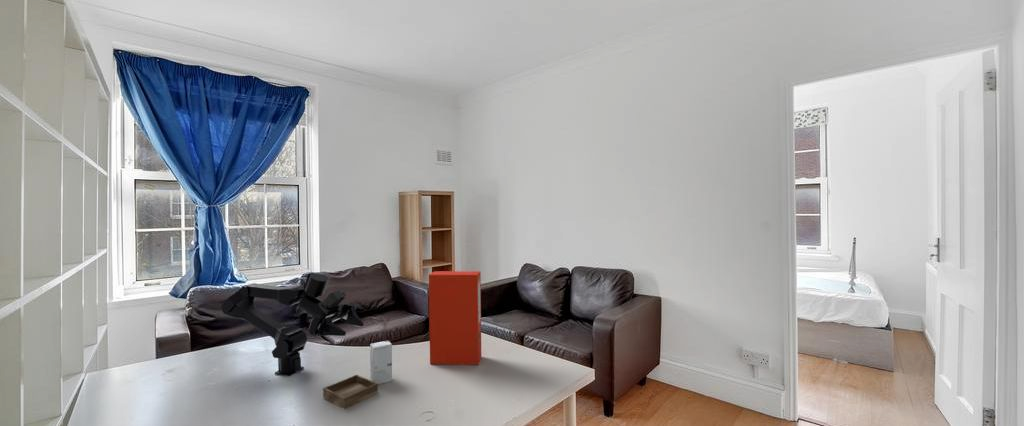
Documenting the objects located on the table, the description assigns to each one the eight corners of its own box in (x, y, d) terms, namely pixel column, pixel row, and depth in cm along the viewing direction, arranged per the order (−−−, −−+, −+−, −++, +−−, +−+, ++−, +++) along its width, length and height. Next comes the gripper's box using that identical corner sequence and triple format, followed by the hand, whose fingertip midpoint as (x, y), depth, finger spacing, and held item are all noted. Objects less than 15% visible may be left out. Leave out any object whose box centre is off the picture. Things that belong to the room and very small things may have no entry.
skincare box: (373, 385, 124) (372, 348, 123) (370, 380, 127) (369, 343, 127) (393, 380, 127) (392, 343, 127) (389, 375, 131) (388, 339, 130)
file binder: (436, 355, 147) (434, 270, 146) (481, 356, 146) (480, 271, 145) (430, 364, 139) (428, 275, 138) (478, 365, 138) (477, 275, 137)
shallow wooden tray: (323, 398, 116) (323, 388, 116) (356, 383, 125) (356, 374, 125) (344, 409, 110) (344, 398, 110) (378, 393, 119) (377, 383, 119)
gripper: (303, 293, 121) (343, 316, 118) (343, 280, 139) (379, 300, 136) (292, 324, 123) (331, 348, 119) (332, 308, 141) (368, 328, 137)
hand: (354, 329), depth 128 cm, fingers open, 9 cm apart
